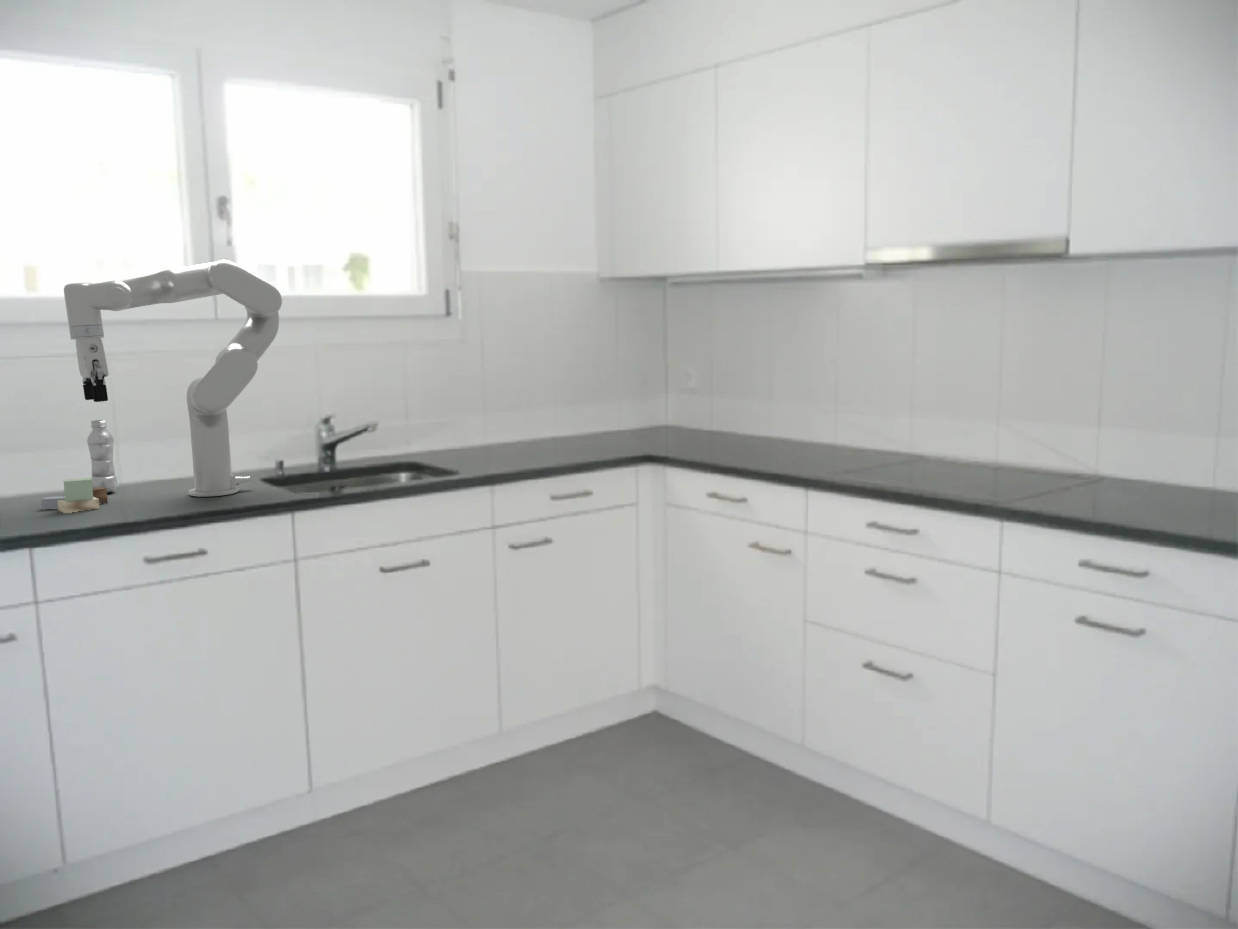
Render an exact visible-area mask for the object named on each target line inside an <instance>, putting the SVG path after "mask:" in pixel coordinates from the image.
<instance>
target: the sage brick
mask: <svg viewBox="0 0 1238 929" xmlns="http://www.w3.org/2000/svg"><path fill="white" fill-rule="evenodd" d="M63 489H64V490H63V491H64V496H65V500H66V502H68V501H79V500H91V499H93V489H92V479H91V477H82V478H71V479H63Z"/></svg>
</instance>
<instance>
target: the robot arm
mask: <svg viewBox="0 0 1238 929" xmlns="http://www.w3.org/2000/svg"><path fill="white" fill-rule="evenodd" d="M63 294H64V302H65V309H66V315H67V316H66V317H67V324H68V328H69V330H68V331H69V335H70V340H72V341H73V340H74V341H75V348H76V358H77V364H78V370H79V374H80V377H82V388H83V396H84V400H85V401H91V400H93V402H95V403H102V402H107V401H108V400H109V397H108V390H107V385H106V384H107V383H106V380H105V378H107V377H108V376H109V368H108V364H107V357H106V352H105V348H104V344H103V340H102V339H104V338H105V334H104V325H103V319H102V313H101V311H112V312H120V311H125V310H129V309H135V308H141V307H146V306H147V307H148V306H153V305H159V304H173V303H180V302H185V301H190V300H195V299H197V300H198V299H202V298H208V297H212V296H219V295H225V296H226V297H229V298H230V299H231V300H234V301H235V302H237V303H238V304H240V305H241V306H244V308H245V310H246V320H245V322H244V324H243V326H242V327H241V328H240V329H239V331H238V332H237V333H236V334H235V335H234V337H233V338H232V339H231V340H230V341H229V342H228V344H226V346H225V347H224V348H222V349H221V351H219V352H218V354H217V356H216V358H215V364H214V363H213V365H212V367H211V368H210V369H209V370H208V371H207V372H206V373H205V375H204V376H200V377H199V376H198V377H197V378H195V379H193V380H192V381H191V382H190V384H189V385H188V388H187V391H186V403H187V404H186V405H187V409H188V417H189V418H188V419H189V426H190V427H189V428H190V441H191V442H190V444H191V445H190V446H191V455H192V456H191V457H192V468H193V470H192V471H193V480H194V482H193V483H194V488H191V489H189V490H188V494H189V496H191V497H197V498H198V497H202V498H205V497H209V498H210V497H220V496H227V495H233V494H236V493H238V492H240V488H239V485H241V484H251V482H252V481H251V476H250V475H248V476H247V475H246V476H236V475H235V474H233V473H232V458H231V447H230V446H231V445H230V444H231V443H230V430H229V418H228V412H227V410H228V408H229V406H231V404H232V403H233V402H234V401H235V400H236V399H237V398H238V396H239V395H240V394H241V393H242V392H243V390H244V389H245V388H246V387H247V386H248V385H249V384H250V382H251V381H252V380H253V378H255V375H256V373H257V370H258V368H259V367H258V364H259V363H258V361H259V360H260V359H261V357H262V356H263V355H264V354H265V352H266V351H267V350H268V348H269V347H270V346H271V345H272V343H273V342H274V340H275V338H276V336H277V334H278V331H279V327H280V323H279V322H280V315H279V311H280V310H281V307H282V304H283V298H282V295H281V293H280V291H279V290H278V289H277V288H276V287H275V286H274V285H273V284H271V283H269V282H267V281H265V280H264V279H263V278H260V277H258V276H257V275H255V274H254V273H252V272H250V271H249V270H247V269H245V268H243V267H242V266H240V265H238V264H237V263H235V262H233V261H231V260H227V259H221V260H218V261H217V260H216V261H212V262H211V261H210V262H206V263H199V264H193V265H189V266H182V267H175V268H170V269H164V270H162V271H158V272H156V273H154V274H153V273H152V274H149V275H144V276H139V277H133V278H129V279H127V278H126V279H122V280H111V281H110V280H109V281H103V282H97V283H93V282H92V283H91V282H77V283H75V282H74V283H68V284H66V285H64V288H63Z"/></svg>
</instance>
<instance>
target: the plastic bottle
mask: <svg viewBox="0 0 1238 929" xmlns="http://www.w3.org/2000/svg"><path fill="white" fill-rule="evenodd" d="M90 424H91V425H90V428H92V430H91V431H90V433H89V434H88V436H87V440H86V441H87V446H88V450H89V456H90V461H91V463H90V464H91V477H90V478H91V479H92V488H97V487H102V488H106V489H107V494H108V493H112V492H115V491H117V489H118V479H117V475H116V472H115V466H114V460H113V459H114V442H115V441H114V437H113V435H112V434H111V433H110V431H109V430H108V429H107V427H108V425H107V419H95V420H90Z"/></svg>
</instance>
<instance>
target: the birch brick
mask: <svg viewBox="0 0 1238 929" xmlns="http://www.w3.org/2000/svg"><path fill="white" fill-rule="evenodd" d="M57 502H58V510H57V511H58V512H59V511H60V513H62V512H63V513H62V514H64V513H65V514H64V515H67V514H66V513H68V514H73V513H72V512H75V513H79V512H78V511H82V512H84V511H83V510H89V509H97V510H100V508H101V507H100V505H99V499H98V498H95V497H93V499H91V500H79V501H68V502H66V500H61V501H57ZM89 511H90V510H89Z"/></svg>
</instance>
